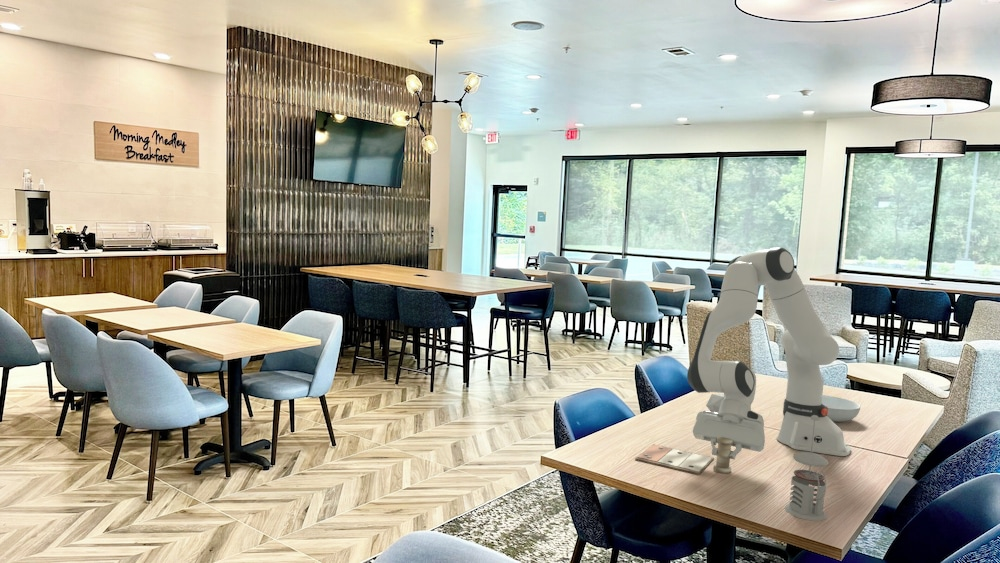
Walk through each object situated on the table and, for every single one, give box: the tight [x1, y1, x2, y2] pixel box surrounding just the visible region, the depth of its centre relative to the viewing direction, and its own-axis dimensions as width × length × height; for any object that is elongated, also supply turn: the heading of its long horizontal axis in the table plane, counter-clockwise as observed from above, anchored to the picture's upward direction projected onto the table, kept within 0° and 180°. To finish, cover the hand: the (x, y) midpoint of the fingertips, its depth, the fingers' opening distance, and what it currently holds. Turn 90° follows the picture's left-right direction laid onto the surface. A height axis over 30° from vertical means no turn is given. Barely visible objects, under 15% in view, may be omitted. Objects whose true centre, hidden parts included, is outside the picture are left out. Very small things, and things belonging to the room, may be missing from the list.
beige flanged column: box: [712, 437, 733, 475], centre depth 200 cm, size 5×5×9 cm
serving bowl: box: [822, 394, 861, 423], centre depth 266 cm, size 21×21×7 cm
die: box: [705, 393, 724, 413], centre depth 262 cm, size 8×9×10 cm
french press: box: [784, 415, 829, 522], centre depth 171 cm, size 10×12×25 cm
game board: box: [634, 444, 715, 476], centre depth 207 cm, size 19×17×1 cm
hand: (723, 456), depth 199 cm, fingers closed on beige flanged column, 4 cm apart
